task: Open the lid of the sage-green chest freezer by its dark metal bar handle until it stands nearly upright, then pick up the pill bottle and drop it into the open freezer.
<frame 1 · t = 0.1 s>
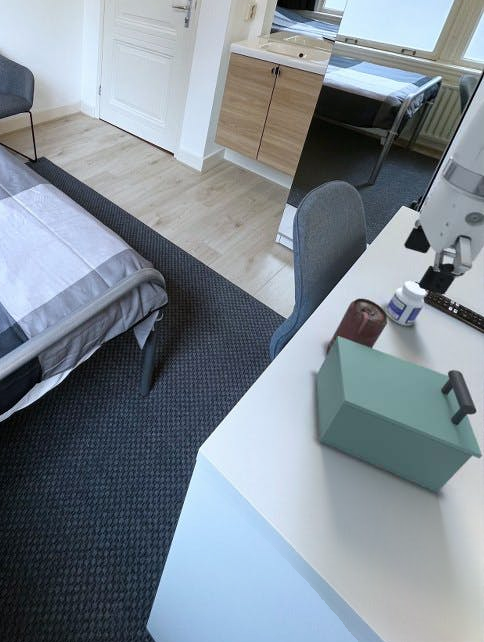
hand: (422, 268, 67), 29 cm above the table, tool pointing down, fingers open, 9 cm apart
freezer: (369, 428, 72), on the table
pill bottle: (398, 316, 95), on the table
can: (342, 359, 84), on the table
freezer lid: (406, 380, 66), point 14 cm above the table, hinge at 0.0°
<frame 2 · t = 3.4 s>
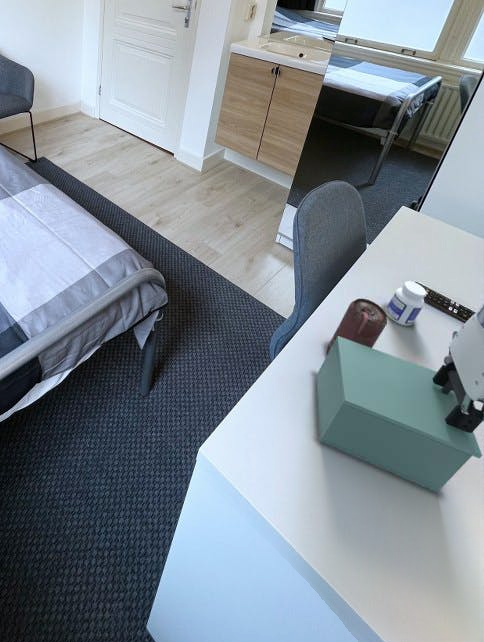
hand: (450, 404, 65), 12 cm above the table, tool pointing down, fingers closed on freezer lid, 6 cm apart
freezer lid: (406, 380, 66), point 14 cm above the table, hinge at 0.0°, touching gripper
everything else where it was.
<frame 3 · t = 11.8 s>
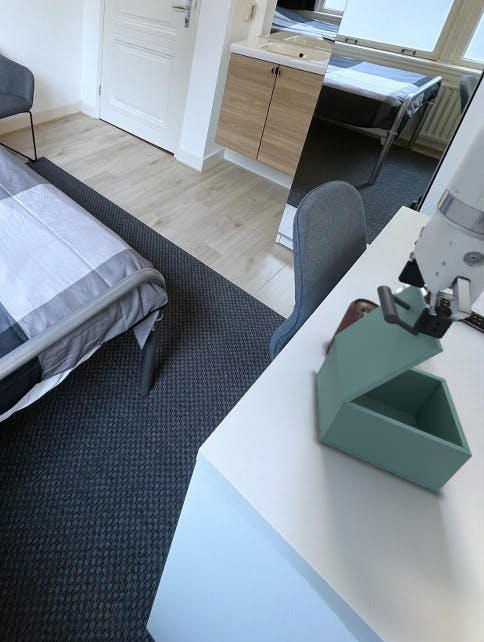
hand: (417, 307, 61), 28 cm above the table, tool pointing down, fingers open, 9 cm apart
freezer lid: (366, 332, 65), point 20 cm above the table, hinge at 69.5°
everything else where it was.
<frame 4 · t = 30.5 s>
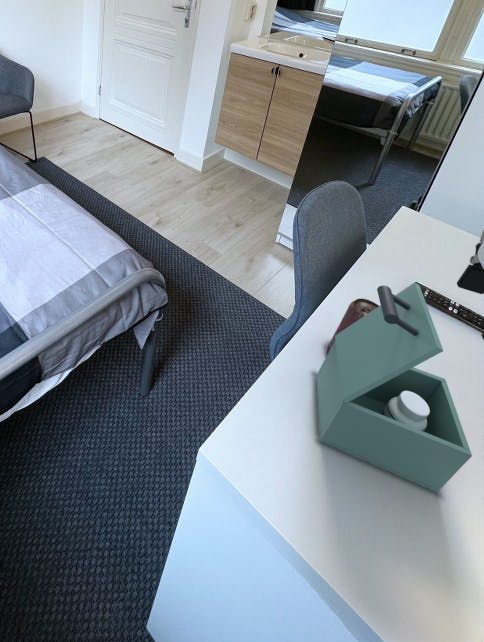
hand: (481, 314, 57), 30 cm above the table, tool pointing down, fingers open, 9 cm apart
pill bottle: (391, 434, 71), point 1 cm above the table, touching freezer
everything else where it was.
at the end: freezer lid at +70° (first picture: +0°); pill bottle inside the target area in the freezer (3.1 cm from its centre), point 0.6 cm above the freezer's base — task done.
